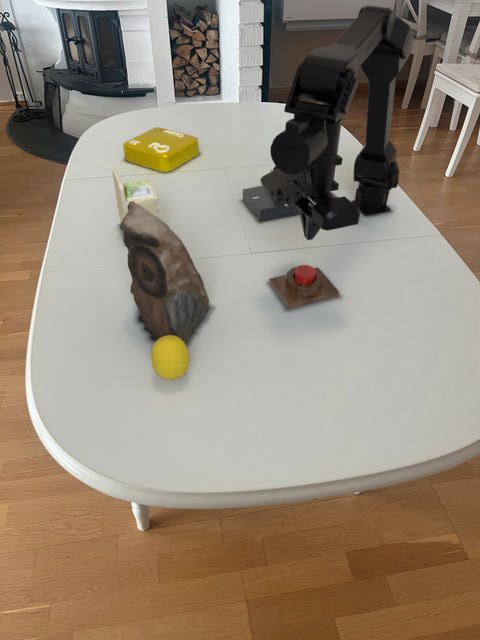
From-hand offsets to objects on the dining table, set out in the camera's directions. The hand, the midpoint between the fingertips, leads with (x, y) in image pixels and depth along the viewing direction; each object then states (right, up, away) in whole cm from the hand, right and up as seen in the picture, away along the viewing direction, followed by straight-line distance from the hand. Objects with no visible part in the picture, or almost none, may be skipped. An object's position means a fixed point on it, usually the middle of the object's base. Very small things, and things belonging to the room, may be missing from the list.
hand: (308, 238), depth 87 cm
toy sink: (-32, +5, +22) cm, 39 cm away
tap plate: (-4, +12, +30) cm, 33 cm away
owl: (-22, -14, +1) cm, 26 cm away
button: (0, -6, +6) cm, 8 cm away
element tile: (-32, +29, +50) cm, 67 cm away
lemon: (-22, -22, -9) cm, 32 cm away
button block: (0, -8, +7) cm, 11 cm away
